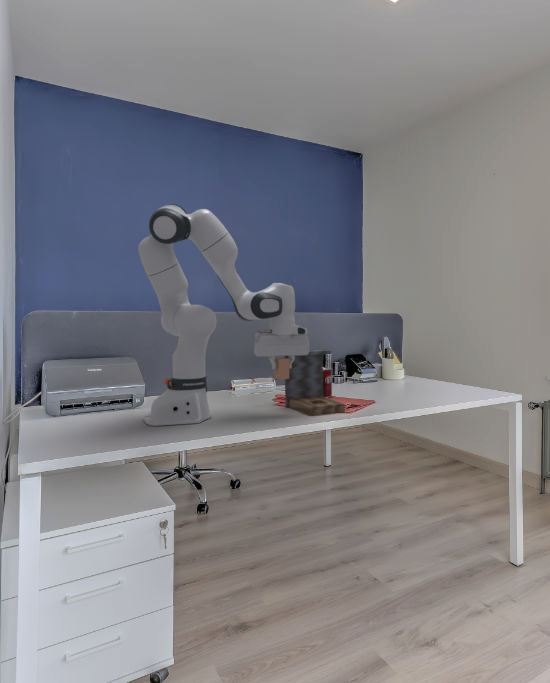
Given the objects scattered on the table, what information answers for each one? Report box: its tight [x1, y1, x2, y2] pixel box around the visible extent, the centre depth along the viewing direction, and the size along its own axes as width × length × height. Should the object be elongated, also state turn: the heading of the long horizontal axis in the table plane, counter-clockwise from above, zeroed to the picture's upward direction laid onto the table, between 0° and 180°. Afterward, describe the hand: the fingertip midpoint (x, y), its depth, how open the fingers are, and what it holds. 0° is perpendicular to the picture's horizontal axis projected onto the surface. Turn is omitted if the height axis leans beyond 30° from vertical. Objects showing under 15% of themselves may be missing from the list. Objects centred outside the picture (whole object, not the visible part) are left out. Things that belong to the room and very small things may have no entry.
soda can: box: [323, 367, 333, 398], centre depth 196 cm, size 7×7×12 cm
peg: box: [273, 357, 289, 380], centre depth 163 cm, size 4×4×7 cm
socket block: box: [284, 349, 346, 417], centre depth 171 cm, size 20×18×21 cm
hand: (281, 368), depth 163 cm, fingers closed on peg, 4 cm apart
